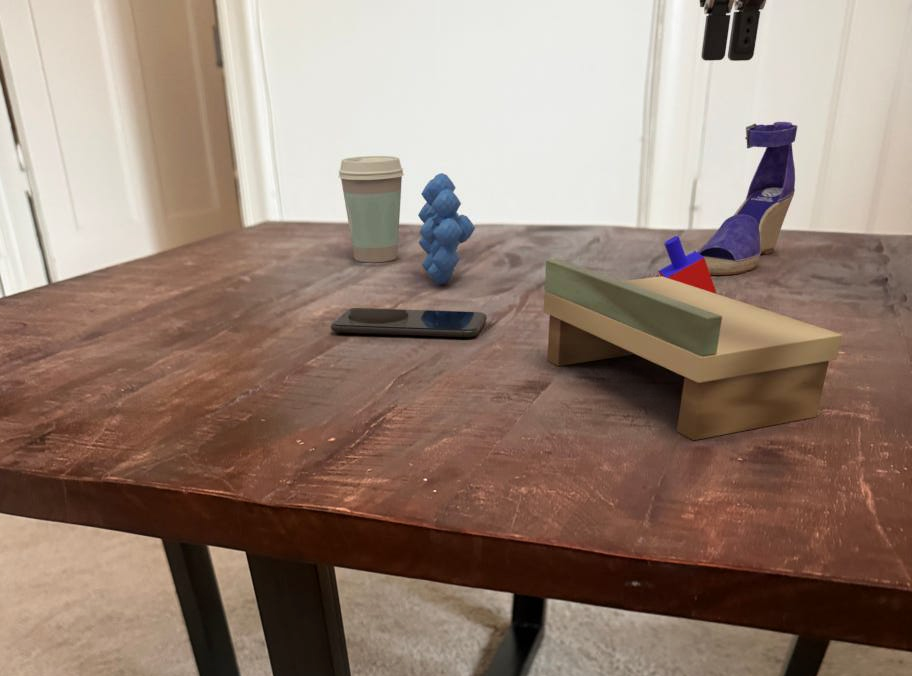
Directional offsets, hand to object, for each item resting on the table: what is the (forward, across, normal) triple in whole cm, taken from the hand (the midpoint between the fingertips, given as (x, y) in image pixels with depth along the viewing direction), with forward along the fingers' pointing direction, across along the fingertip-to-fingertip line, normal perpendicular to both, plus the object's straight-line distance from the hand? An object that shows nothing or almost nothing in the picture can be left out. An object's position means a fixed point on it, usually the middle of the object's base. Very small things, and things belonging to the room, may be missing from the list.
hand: (725, 60), depth 84 cm
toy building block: (+22, -3, +2) cm, 22 cm away
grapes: (+22, +11, +27) cm, 36 cm away
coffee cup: (+22, +28, +36) cm, 50 cm away
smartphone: (+22, -9, +32) cm, 40 cm away
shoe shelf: (+22, -30, +10) cm, 39 cm away
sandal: (+22, +18, -11) cm, 31 cm away
